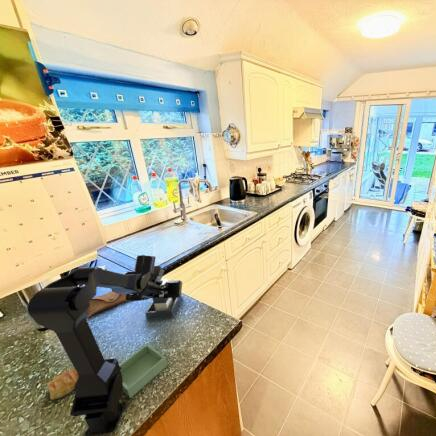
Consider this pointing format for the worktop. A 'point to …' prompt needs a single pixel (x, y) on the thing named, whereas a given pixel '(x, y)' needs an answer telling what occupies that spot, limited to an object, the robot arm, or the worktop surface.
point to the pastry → (62, 384)
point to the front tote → (141, 369)
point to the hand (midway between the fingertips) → (163, 292)
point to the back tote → (153, 314)
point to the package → (163, 300)
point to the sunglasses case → (105, 303)
